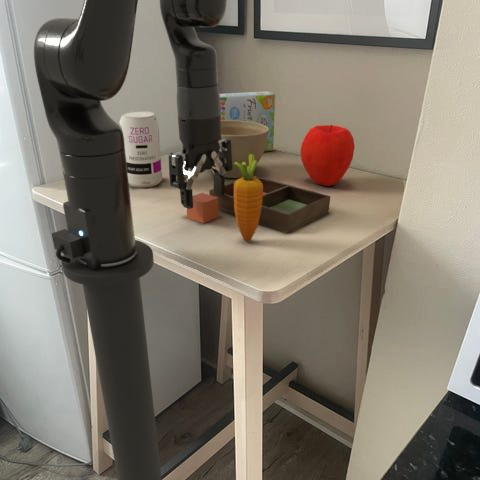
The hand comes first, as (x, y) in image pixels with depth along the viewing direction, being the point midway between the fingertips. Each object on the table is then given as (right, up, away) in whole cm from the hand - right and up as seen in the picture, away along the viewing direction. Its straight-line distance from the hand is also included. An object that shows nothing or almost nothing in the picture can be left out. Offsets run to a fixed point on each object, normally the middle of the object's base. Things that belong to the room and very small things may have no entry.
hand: (203, 201), depth 96 cm
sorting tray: (+13, -1, +5) cm, 14 cm away
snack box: (+6, +24, +43) cm, 49 cm away
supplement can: (-15, +9, +19) cm, 26 cm away
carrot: (+8, -9, -8) cm, 15 cm away
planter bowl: (+5, +13, +26) cm, 30 cm away
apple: (+27, +8, +20) cm, 34 cm away
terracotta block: (0, -3, +2) cm, 3 cm away
